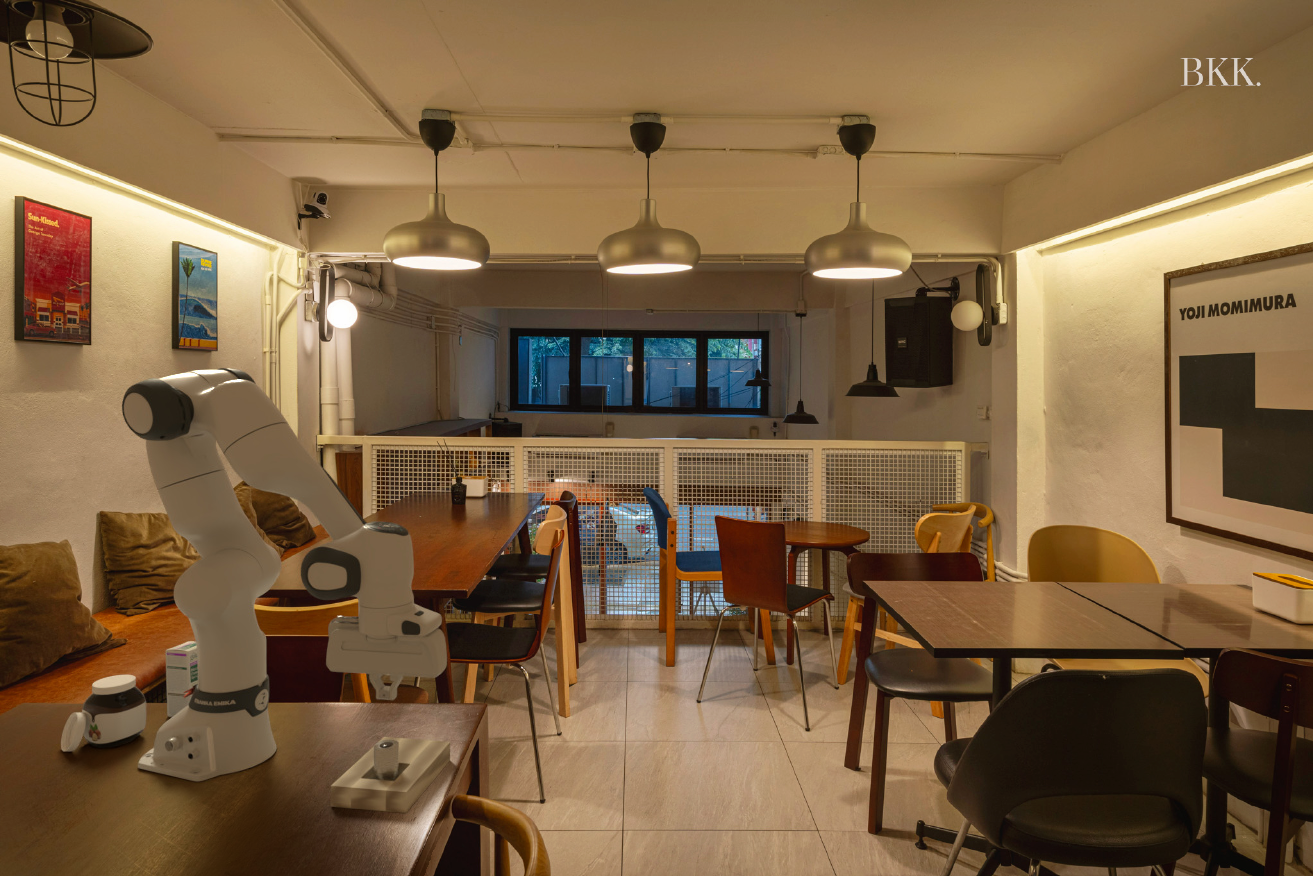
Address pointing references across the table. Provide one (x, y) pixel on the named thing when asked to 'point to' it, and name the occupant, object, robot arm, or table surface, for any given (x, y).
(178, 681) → the syrup box
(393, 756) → the bushing
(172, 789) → the table surface
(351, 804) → the frame
